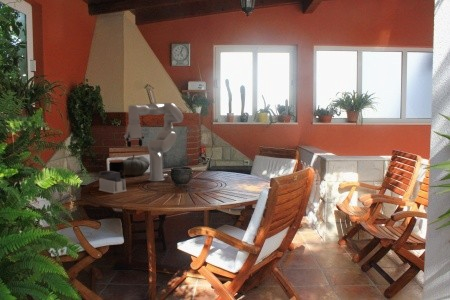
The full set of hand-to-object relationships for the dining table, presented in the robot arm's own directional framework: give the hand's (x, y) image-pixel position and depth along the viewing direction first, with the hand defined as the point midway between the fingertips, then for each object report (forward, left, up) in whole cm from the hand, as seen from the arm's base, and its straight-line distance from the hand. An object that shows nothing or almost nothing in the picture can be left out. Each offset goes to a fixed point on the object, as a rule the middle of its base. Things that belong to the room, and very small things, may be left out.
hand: (134, 146), depth 296 cm
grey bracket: (+25, +5, -21) cm, 33 cm away
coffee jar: (+8, -12, -28) cm, 32 cm away
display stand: (+23, +5, -28) cm, 37 cm away
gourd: (-28, -40, -29) cm, 57 cm away
